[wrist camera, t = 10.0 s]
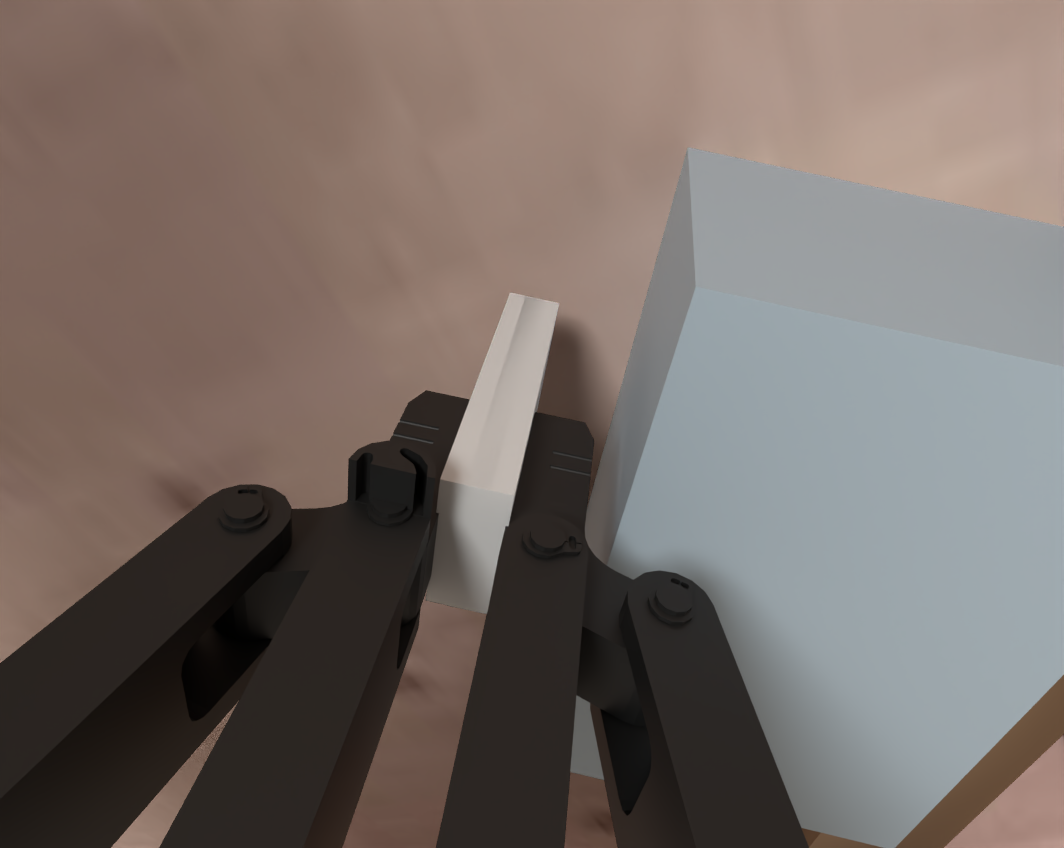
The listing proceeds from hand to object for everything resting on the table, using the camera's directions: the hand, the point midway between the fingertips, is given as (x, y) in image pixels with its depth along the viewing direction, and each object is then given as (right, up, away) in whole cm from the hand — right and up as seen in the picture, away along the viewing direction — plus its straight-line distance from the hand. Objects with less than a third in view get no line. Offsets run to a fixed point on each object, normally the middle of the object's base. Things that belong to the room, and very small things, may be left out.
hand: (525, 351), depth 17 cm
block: (+6, -2, +2) cm, 7 cm away
